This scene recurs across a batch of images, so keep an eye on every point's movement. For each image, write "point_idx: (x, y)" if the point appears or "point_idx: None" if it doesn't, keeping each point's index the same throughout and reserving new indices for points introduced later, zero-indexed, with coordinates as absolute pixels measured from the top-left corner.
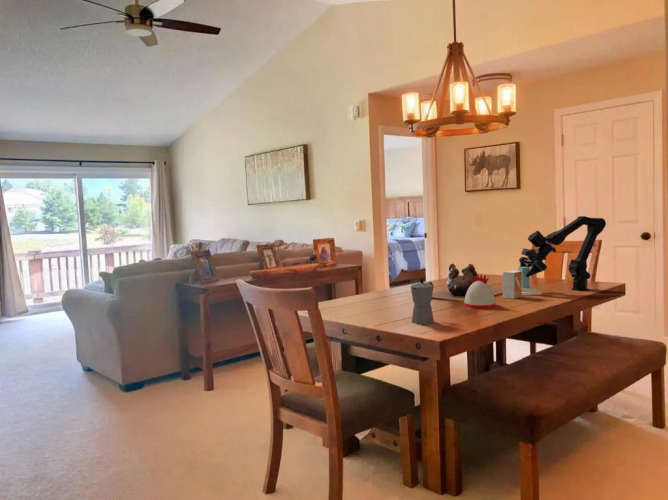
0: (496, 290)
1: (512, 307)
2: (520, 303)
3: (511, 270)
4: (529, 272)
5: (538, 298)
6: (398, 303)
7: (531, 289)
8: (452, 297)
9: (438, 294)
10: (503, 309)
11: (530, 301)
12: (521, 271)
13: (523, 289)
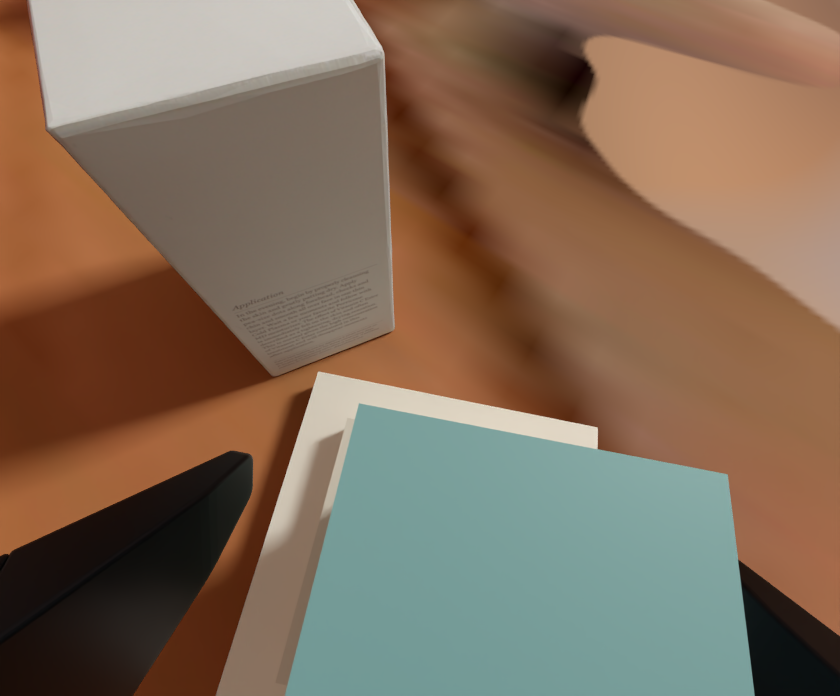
0: (723, 399)
1: (18, 71)
2: (60, 178)
3: (325, 35)
4: (90, 527)
5: (73, 458)
6: None
7: (303, 596)
8: (530, 14)
9: (664, 10)
10: (28, 15)
11: (43, 286)
12: (47, 119)
13: (336, 459)
